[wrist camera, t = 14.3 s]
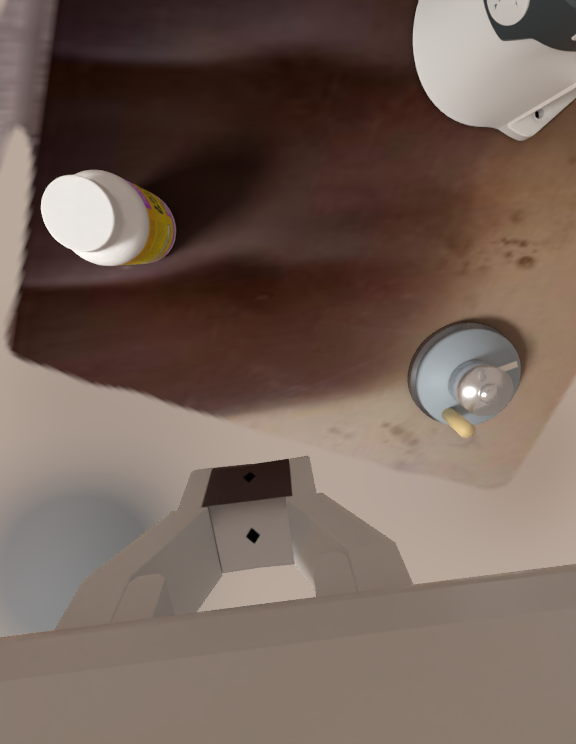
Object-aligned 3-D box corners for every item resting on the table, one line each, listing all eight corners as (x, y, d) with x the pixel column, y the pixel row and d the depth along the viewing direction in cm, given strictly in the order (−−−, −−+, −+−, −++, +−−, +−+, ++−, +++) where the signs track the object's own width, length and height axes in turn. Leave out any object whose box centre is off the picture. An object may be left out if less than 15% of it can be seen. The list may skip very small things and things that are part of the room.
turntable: (522, 326, 40) (558, 337, 35) (504, 420, 43) (534, 442, 38) (420, 328, 39) (442, 339, 34) (410, 423, 43) (429, 445, 38)
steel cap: (498, 358, 39) (521, 369, 36) (490, 403, 41) (511, 418, 37) (451, 359, 39) (469, 370, 35) (445, 404, 41) (462, 419, 37)
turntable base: (487, 301, 40) (493, 302, 39) (524, 388, 43) (530, 391, 42) (390, 357, 41) (392, 359, 40) (433, 437, 45) (436, 441, 44)
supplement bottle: (189, 216, 36) (148, 197, 24) (159, 275, 37) (106, 287, 25) (125, 175, 35) (46, 133, 22) (97, 239, 36) (9, 232, 24)
